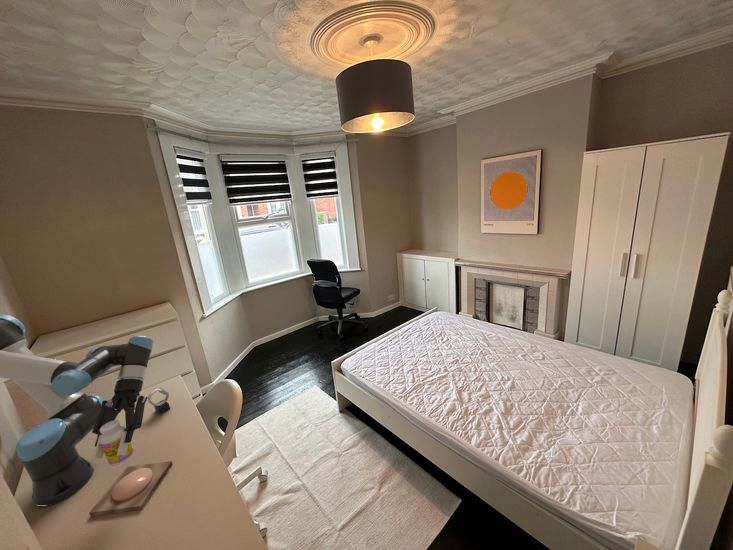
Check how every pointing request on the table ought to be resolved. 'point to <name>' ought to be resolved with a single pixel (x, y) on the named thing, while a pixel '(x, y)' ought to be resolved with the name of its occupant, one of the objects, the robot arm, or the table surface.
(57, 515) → the table surface
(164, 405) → the watch
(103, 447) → the supplement bottle
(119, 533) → the table surface
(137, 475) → the pink dome
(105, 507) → the square brown tray
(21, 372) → the robot arm
